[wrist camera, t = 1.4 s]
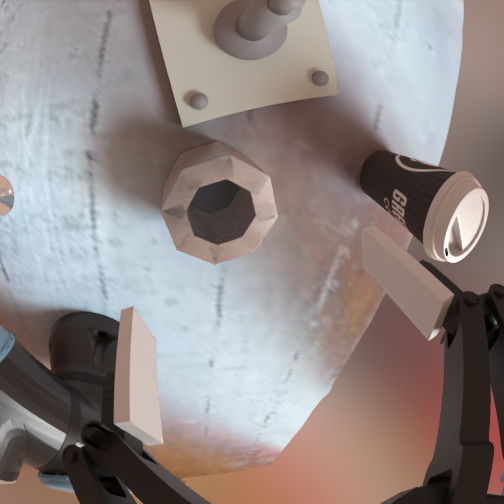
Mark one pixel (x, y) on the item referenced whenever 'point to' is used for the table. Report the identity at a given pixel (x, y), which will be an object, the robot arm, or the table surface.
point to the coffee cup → (428, 202)
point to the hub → (223, 220)
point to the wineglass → (5, 196)
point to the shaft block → (242, 54)
